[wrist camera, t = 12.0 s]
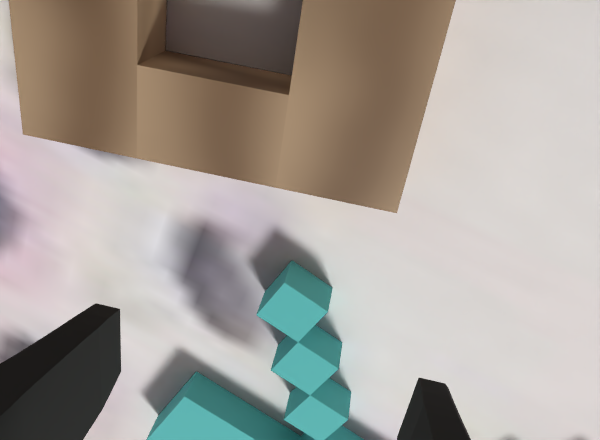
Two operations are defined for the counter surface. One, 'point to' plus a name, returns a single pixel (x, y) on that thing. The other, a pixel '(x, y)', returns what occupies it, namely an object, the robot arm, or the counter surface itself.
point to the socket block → (238, 93)
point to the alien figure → (287, 364)
